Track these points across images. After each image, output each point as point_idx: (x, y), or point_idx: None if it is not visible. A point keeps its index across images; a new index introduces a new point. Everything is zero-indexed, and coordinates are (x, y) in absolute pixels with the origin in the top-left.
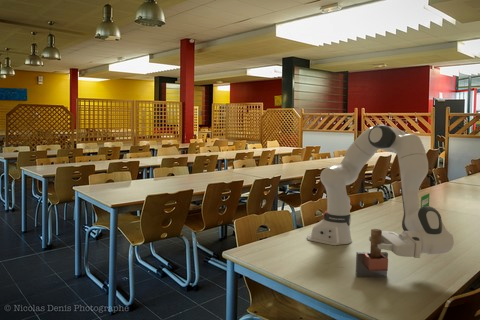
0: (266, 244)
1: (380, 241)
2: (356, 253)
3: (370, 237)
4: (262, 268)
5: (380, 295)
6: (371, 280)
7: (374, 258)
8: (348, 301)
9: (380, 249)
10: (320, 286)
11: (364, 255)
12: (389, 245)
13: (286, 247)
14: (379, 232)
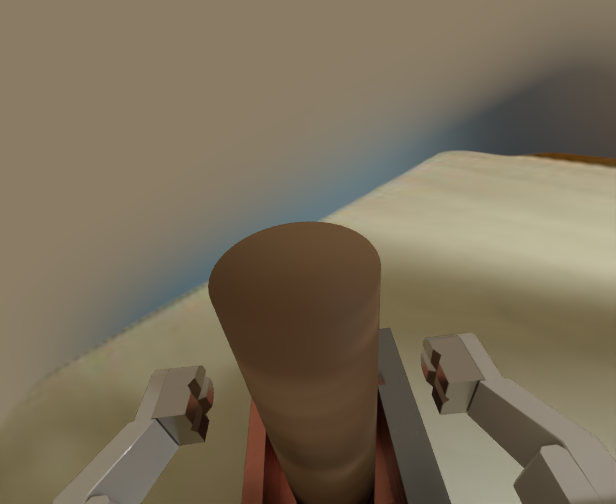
0: (583, 180)
1: (257, 410)
2: (386, 333)
3: (441, 337)
4: (376, 192)
5: None
6: None
7: (261, 424)
8: (146, 340)
9: (282, 464)
10: None
11: None
12: (58, 499)
13: (602, 212)
14: (215, 301)
